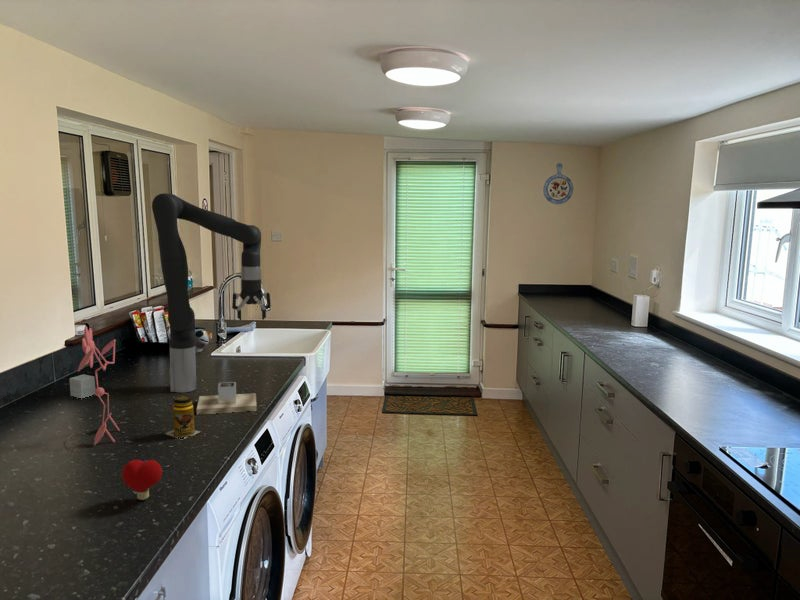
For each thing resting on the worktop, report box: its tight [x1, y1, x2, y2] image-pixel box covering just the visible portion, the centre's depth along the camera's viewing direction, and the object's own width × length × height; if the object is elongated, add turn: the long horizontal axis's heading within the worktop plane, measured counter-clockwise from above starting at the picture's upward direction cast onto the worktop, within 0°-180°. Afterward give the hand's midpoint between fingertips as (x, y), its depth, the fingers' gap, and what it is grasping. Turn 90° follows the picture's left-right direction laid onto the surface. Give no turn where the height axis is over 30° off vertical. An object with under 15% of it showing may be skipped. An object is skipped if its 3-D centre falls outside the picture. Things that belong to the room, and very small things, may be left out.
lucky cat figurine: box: [195, 328, 213, 354], centre depth 282 cm, size 15×12×14 cm
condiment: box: [165, 394, 201, 440], centre depth 181 cm, size 7×8×12 cm
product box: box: [69, 374, 96, 400], centre depth 213 cm, size 6×6×7 cm
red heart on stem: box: [121, 459, 163, 501], centre depth 140 cm, size 9×7×10 cm
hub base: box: [196, 384, 258, 416], centre depth 206 cm, size 20×14×8 cm
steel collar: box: [217, 381, 237, 404], centre depth 206 cm, size 6×6×6 cm
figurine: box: [64, 325, 126, 453], centre depth 173 cm, size 15×26×35 cm, turn 17°
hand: (251, 319), depth 222 cm, fingers open, 8 cm apart
